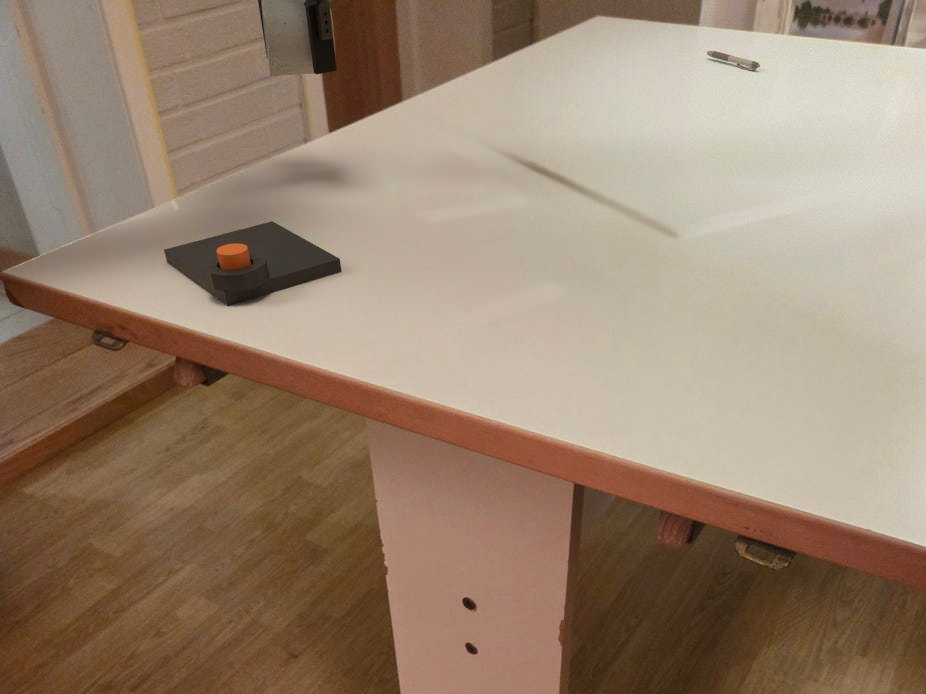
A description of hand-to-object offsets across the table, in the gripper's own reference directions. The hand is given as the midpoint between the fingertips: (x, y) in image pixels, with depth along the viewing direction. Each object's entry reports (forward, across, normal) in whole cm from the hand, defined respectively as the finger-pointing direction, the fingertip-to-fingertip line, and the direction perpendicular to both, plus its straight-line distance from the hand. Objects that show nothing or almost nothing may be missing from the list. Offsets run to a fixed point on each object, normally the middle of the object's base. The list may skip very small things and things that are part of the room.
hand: (300, 64), depth 106 cm
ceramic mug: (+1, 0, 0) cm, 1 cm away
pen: (+12, -4, +87) cm, 88 cm away
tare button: (+10, +29, -25) cm, 40 cm away
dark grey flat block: (+13, +24, -21) cm, 34 cm away
